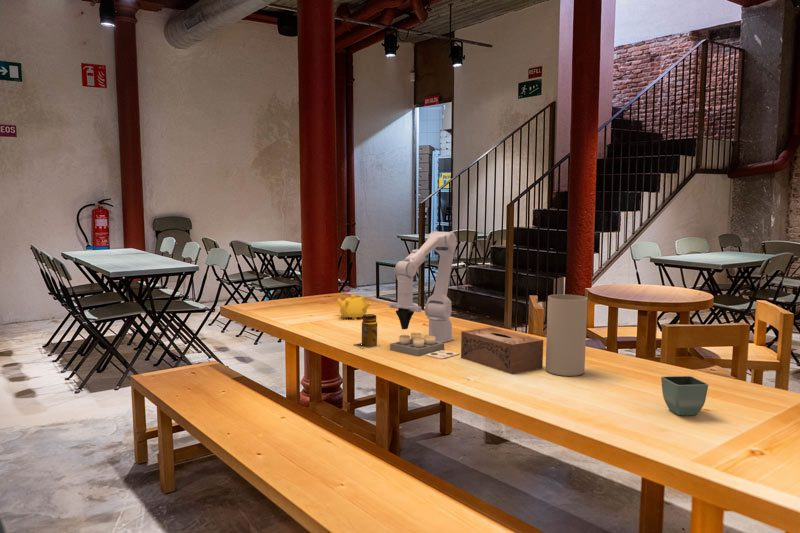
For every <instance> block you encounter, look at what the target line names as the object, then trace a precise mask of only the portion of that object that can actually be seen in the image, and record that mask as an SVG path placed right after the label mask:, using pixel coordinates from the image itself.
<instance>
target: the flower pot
mask: <svg viewBox="0 0 800 533" xmlns="http://www.w3.org/2000/svg"><path fill="white" fill-rule="evenodd" d="M660 379H661V389H662V398H663V400H664V402H665V405H666V407H667V408H668V410H669V411H671V412H672V413H674V414H675V415H677V416H680V415H681V416H697V415H698V414H699V412H700V411H701V410H702V409H703V407H704V405H705V402H706V400H707V399H706V398H707V395H708V389H709V383H707V382H704V381H702V380H701V379H698V378H696V377H694V376H692V375H681V376H679V375H678V376H677V375H675V376H672V375H670V376H669V375H668V376H666V375H665V376H661V377H660Z"/></svg>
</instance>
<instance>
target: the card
mask: <svg viewBox="0 0 800 533" xmlns="http://www.w3.org/2000/svg"><path fill="white" fill-rule="evenodd" d="M459 355H460V353H458V352H453V351H449V350H445V349H444V350H440V351H436V352H433V353H429V354H425V355H424V356H425V357H430V358H435V359H439V360H446V359H449V358H451V357H456V356H459Z"/></svg>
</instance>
